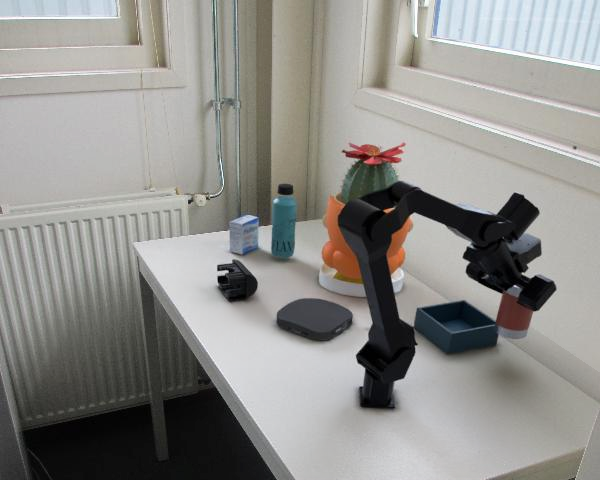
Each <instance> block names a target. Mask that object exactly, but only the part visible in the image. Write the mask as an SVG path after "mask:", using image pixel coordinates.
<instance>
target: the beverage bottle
mask: <svg viewBox="0 0 600 480" xmlns="http://www.w3.org/2000/svg"><path fill="white" fill-rule="evenodd" d="M277 194H278V195H280V196H277V197H276V198H275V199H274V200H272V228H271V242H270V243H271V244H270V245H271V247H270V252H271V255H272V256H274V257H277V258H290V257H292V256H294V254H295V246H296V223H297V204H298V203H297V200H295V199H294V197H292V195H294V185H293V184H290V183H279V184H278V186H277Z"/></svg>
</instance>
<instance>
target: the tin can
mask: <svg viewBox="0 0 600 480" xmlns="http://www.w3.org/2000/svg"><path fill="white" fill-rule="evenodd" d="M522 290H523V289H521V288H519V287H517V286H515V285H514V286H513V287H512V288H511V289H508V290H507V291H504V290H503V293H502V294H501V298H500V302H499V306H498V311H497V314H496V318H495V321H496V323H495V327H494V330H495V332H496V333H497V334H499V335H498V336H501V337H503V338H506V339H511V340H522V339H524V338H526V337H527V335H528V332H529V328H530V324H531V320H532V318H533V314H534V311H532V310H530V309H528V308H525V307H523V306H521V305H520V304H518V303H517V301H518V297H519V293H520V292H521V291H522Z"/></svg>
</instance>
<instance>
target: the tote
mask: <svg viewBox="0 0 600 480" xmlns="http://www.w3.org/2000/svg"><path fill="white" fill-rule="evenodd" d="M495 323H496V319H494V318H492V317H491V316H489V315H488V314H486V313H485V312H483V311H482V310H480V309H479V308H478V307H476V306H474V305H473V304H471V303H470V302H468V301H467V300H465V299H461V300H455V301H450V302H442V303H438V304H432V305H425V306H420V307H419V306H418V307H416V311H415V317H414V322H413V328H414V330H416V331H417V332H418V333H420V334H421V335H422V336H424V337H425V338H426V339H427V340H428V341H430V343H432V344H433V345H435V346H436V347H437V348H438V349H439V350H441V351H442V352H443V353H445V354H446V355H452V354H458V353H463V352H467V351H472V350H477V349H480V348H486V347H491V346H496V345H497V344H498V339H499V336H500V335H499V334H497V333H496V332H495V330H494V327H495Z"/></svg>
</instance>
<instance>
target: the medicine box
mask: <svg viewBox="0 0 600 480" xmlns="http://www.w3.org/2000/svg"><path fill="white" fill-rule="evenodd" d="M259 219H260V218H259V217H257V216H254V215H249V214H245V215H243V216H240V217H237V218H235V219H233V220H231V221H229V223H228V224H229V225H228V226H229V252H231V253H235V254H237V255H242V256H244V255H246V254H248V253H249V252H251V251H253V250H255V249H257V248H259V230H260V229H259V226H260V225H259V224H260V223H259V222H260V220H259Z"/></svg>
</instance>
